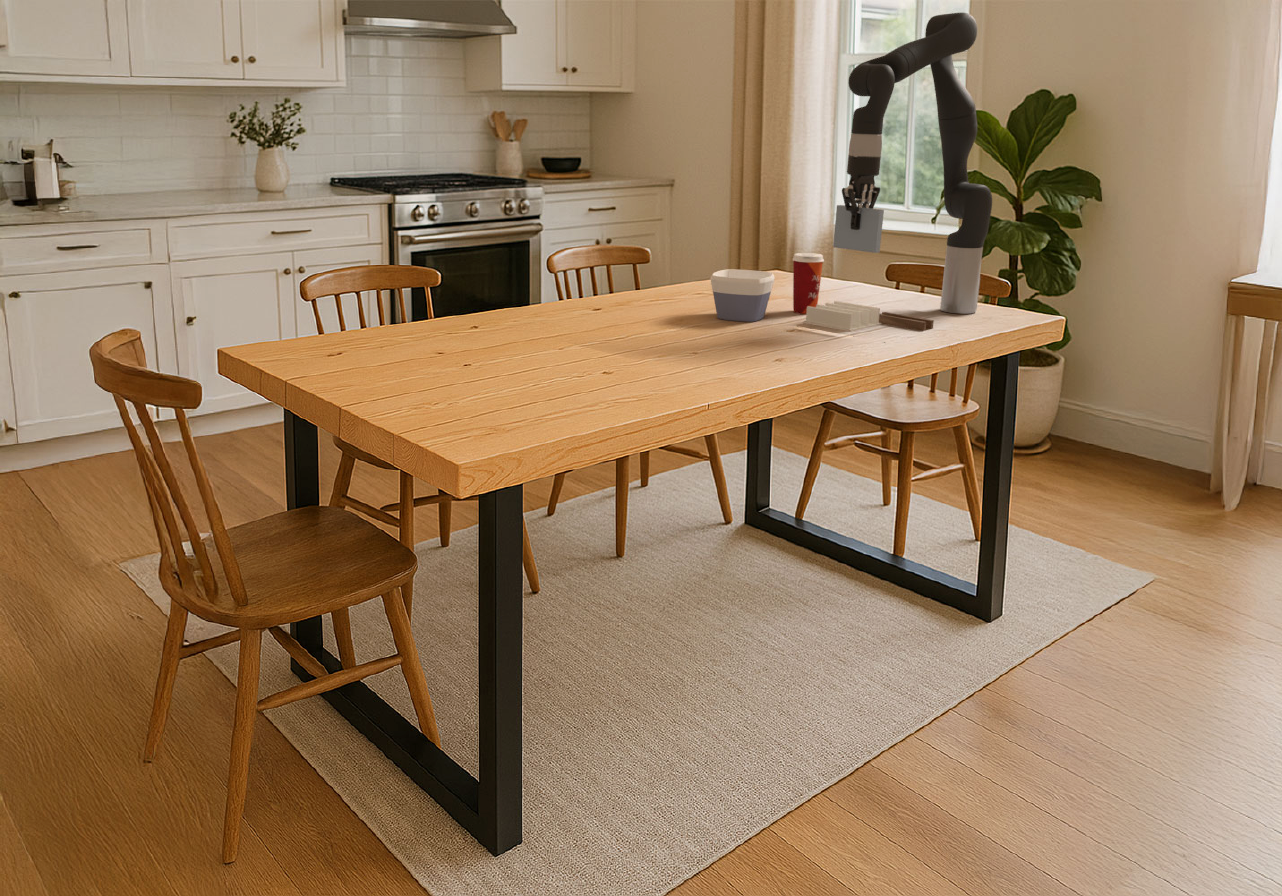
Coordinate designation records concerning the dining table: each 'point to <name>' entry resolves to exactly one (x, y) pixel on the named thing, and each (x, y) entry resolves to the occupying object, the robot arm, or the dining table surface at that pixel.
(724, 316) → the bowl
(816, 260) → the coffee cup
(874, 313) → the rack
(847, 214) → the grey-blue flat slab
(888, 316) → the stand
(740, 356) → the dining table surface
